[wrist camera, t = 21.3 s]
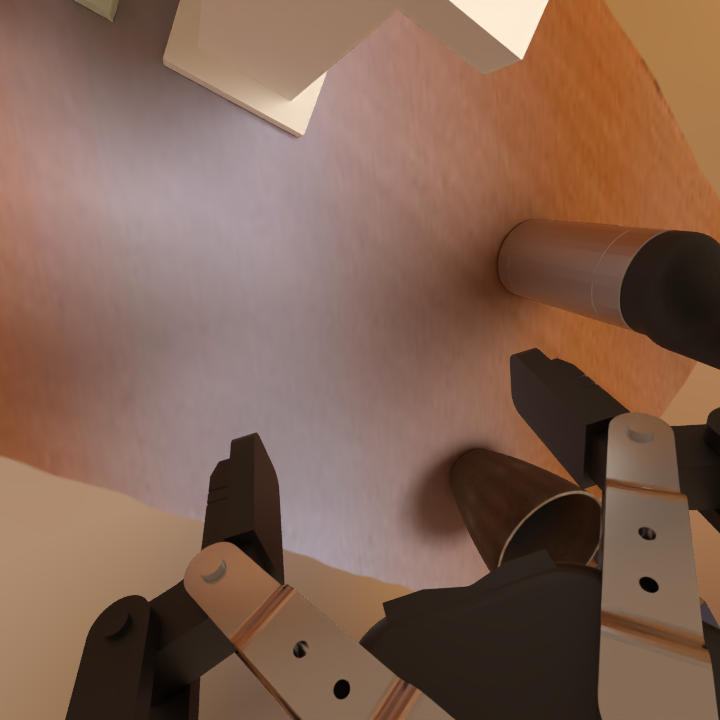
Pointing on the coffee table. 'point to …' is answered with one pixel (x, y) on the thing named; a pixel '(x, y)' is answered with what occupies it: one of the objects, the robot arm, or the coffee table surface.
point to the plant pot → (523, 510)
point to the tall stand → (325, 44)
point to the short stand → (101, 7)
